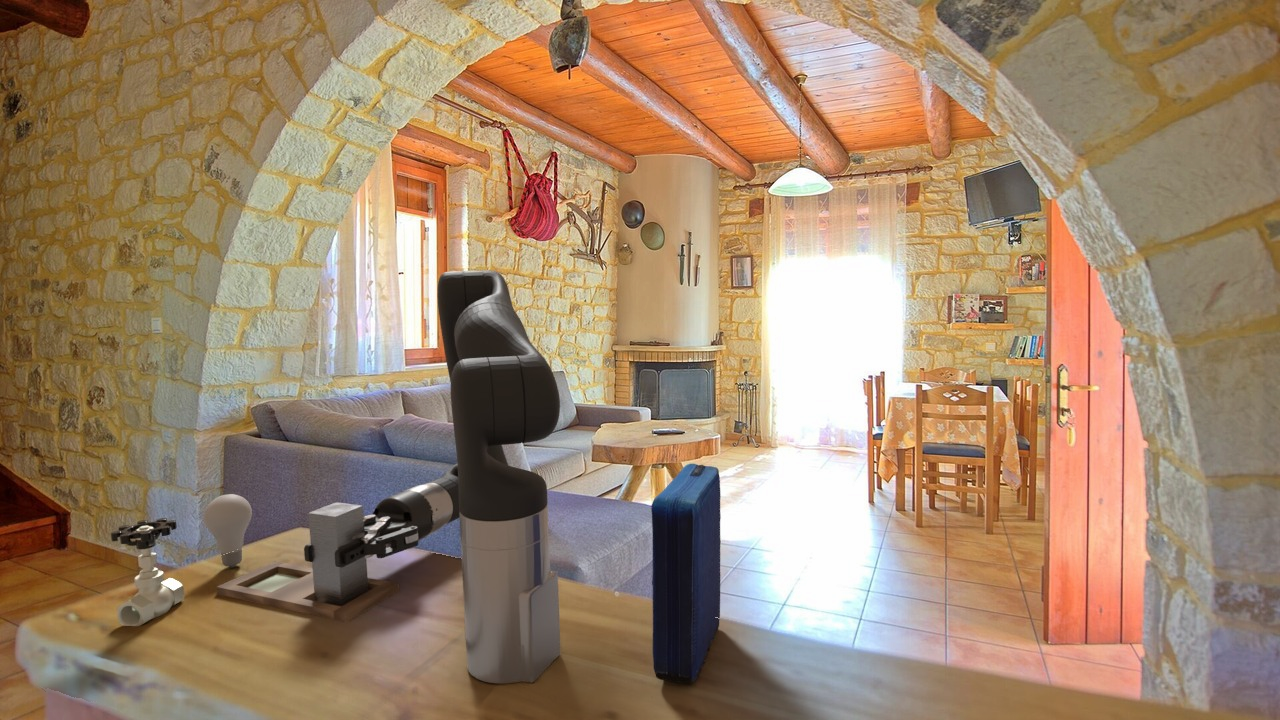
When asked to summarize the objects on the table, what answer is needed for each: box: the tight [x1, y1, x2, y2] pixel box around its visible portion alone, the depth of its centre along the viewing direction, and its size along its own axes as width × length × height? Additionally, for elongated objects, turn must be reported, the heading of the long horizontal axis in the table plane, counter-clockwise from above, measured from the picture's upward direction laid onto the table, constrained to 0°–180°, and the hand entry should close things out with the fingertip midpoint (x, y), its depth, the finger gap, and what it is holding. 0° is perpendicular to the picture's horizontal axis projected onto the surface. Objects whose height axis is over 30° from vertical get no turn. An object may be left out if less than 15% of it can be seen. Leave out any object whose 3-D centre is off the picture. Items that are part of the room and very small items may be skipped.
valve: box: [110, 517, 185, 627], centre depth 85 cm, size 7×7×12 cm
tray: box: [216, 560, 400, 623], centre depth 91 cm, size 22×9×2 cm, turn 68°
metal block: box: [308, 501, 369, 607], centre depth 88 cm, size 4×4×12 cm
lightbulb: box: [203, 493, 253, 568], centre depth 101 cm, size 6×6×11 cm
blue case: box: [650, 463, 722, 685], centre depth 74 cm, size 14×5×20 cm, turn 162°
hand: (322, 557), depth 85 cm, fingers closed on metal block, 4 cm apart
